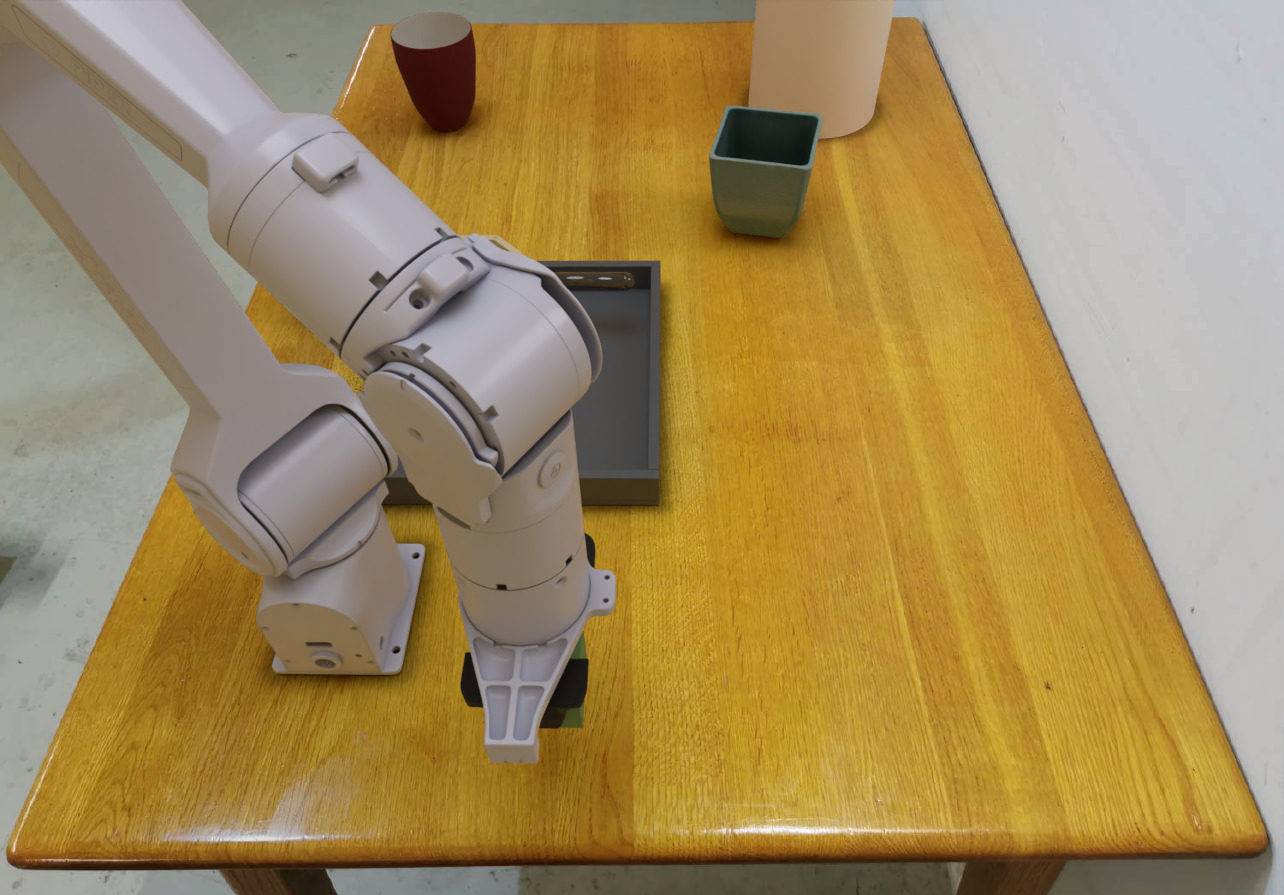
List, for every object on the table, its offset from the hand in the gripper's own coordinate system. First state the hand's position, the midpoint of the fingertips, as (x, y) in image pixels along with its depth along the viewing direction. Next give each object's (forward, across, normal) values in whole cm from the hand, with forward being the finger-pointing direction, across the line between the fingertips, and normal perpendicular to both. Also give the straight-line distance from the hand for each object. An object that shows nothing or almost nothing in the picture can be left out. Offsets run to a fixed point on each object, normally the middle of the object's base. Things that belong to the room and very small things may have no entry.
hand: (545, 680), depth 48 cm
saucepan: (+7, +35, +5) cm, 36 cm away
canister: (+8, +71, -22) cm, 75 cm away
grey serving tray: (+7, +29, +5) cm, 30 cm away
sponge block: (+1, 0, 0) cm, 1 cm away
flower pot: (+8, +50, -15) cm, 53 cm away
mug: (+8, +69, +17) cm, 72 cm away
